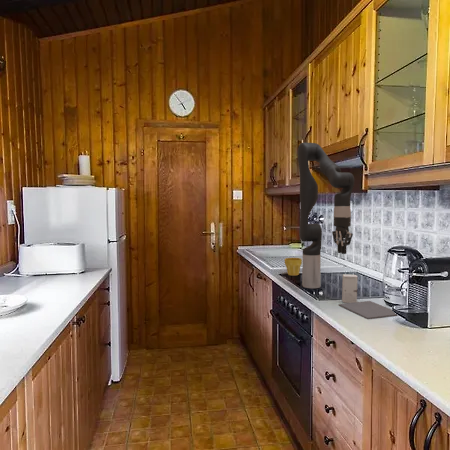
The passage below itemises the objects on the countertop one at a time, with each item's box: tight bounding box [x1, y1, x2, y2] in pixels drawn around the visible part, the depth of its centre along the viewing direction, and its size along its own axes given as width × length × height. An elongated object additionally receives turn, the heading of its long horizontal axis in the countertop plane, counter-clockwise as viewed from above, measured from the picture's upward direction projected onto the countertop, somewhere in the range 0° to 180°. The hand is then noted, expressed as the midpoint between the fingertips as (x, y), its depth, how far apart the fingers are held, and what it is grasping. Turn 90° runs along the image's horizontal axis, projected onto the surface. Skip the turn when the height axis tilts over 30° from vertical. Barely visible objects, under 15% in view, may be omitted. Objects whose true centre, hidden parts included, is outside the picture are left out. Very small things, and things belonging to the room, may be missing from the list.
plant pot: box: [284, 257, 303, 277], centre depth 233 cm, size 10×10×10 cm
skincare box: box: [341, 273, 358, 304], centre depth 171 cm, size 6×4×12 cm
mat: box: [338, 300, 397, 320], centre depth 158 cm, size 20×16×1 cm
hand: (341, 253), depth 176 cm, fingers open, 2 cm apart
